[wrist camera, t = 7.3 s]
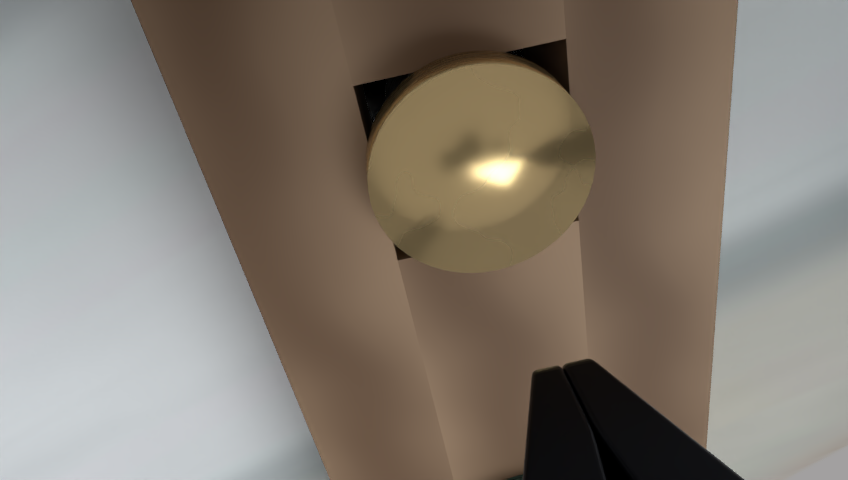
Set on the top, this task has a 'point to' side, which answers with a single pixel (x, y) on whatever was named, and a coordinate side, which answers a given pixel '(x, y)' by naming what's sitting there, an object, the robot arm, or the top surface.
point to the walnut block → (445, 290)
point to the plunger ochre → (478, 161)
